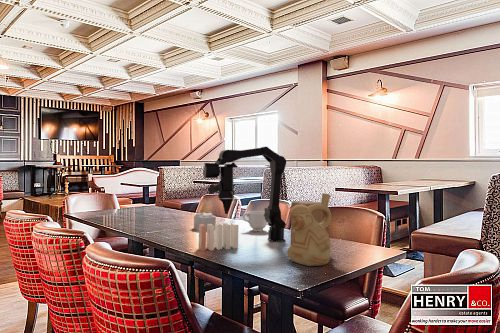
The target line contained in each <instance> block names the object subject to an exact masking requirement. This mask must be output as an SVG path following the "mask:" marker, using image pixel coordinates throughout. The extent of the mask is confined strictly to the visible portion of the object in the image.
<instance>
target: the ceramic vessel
mask: <svg viewBox="0 0 500 333" xmlns="http://www.w3.org/2000/svg"><path fill="white" fill-rule="evenodd" d="M330 199H331V194H328V193H322V194H321V201H320V203H321V204H313V205H310V206H308V207H307V206H305V205H302V204H299V205H295V206H294V207H292V208H291V207H290V210H289V213H290V225H291V224H292V227H293V228H294V229H293V231H292V240H293V243H292V245H291V244H290V246H289V247H288V249H287V252H286V253H287V254H286V255H287V257H288V259H289V260H290V261H292V262H294V263H296V264H300V265H303V266H307V267H314V266H315V267H316V266H317V267H319V266H323V265H327V264H329V262H330V260H331V252H332V251H331V250H332V249H331V244H332V243H331V240H330V235H329V233H328V231H327V228H328V226H330V223H331V221H332V213H331V210H330V208H329V201H330ZM318 210H319V211H323V214H324V215H323V216H324V218H323V219H322V222H321V223H318V222H317V221H316V220H315V219H314V217H313V215H312V212H314V211H318Z"/></svg>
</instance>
